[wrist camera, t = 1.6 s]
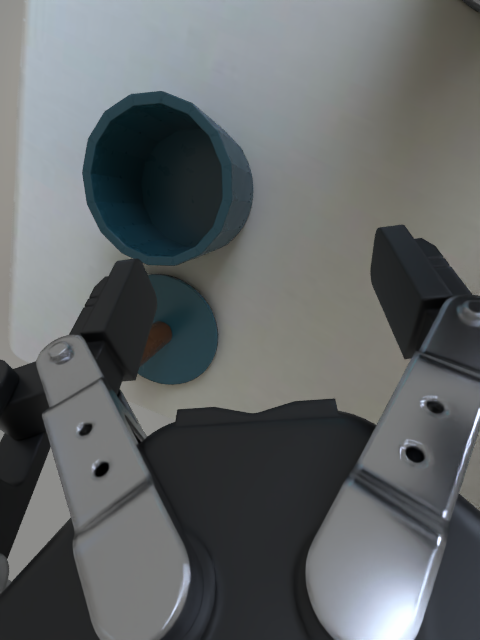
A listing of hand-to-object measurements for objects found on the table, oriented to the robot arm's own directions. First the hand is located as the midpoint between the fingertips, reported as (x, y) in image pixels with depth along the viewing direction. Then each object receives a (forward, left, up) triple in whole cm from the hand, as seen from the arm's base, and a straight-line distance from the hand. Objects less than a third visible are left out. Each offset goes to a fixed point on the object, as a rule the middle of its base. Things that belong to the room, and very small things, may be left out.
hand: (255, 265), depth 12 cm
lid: (+15, -9, -19) cm, 26 cm away
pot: (0, -10, -20) cm, 22 cm away
